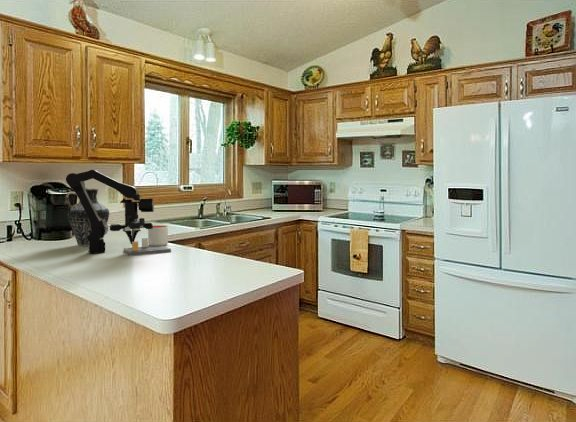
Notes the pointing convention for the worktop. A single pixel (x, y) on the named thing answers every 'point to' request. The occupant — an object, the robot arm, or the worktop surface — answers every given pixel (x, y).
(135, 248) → the fader
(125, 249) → the grey rectangular panel
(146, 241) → the fader
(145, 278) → the worktop surface
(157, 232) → the cup
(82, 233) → the dark patterned vase
